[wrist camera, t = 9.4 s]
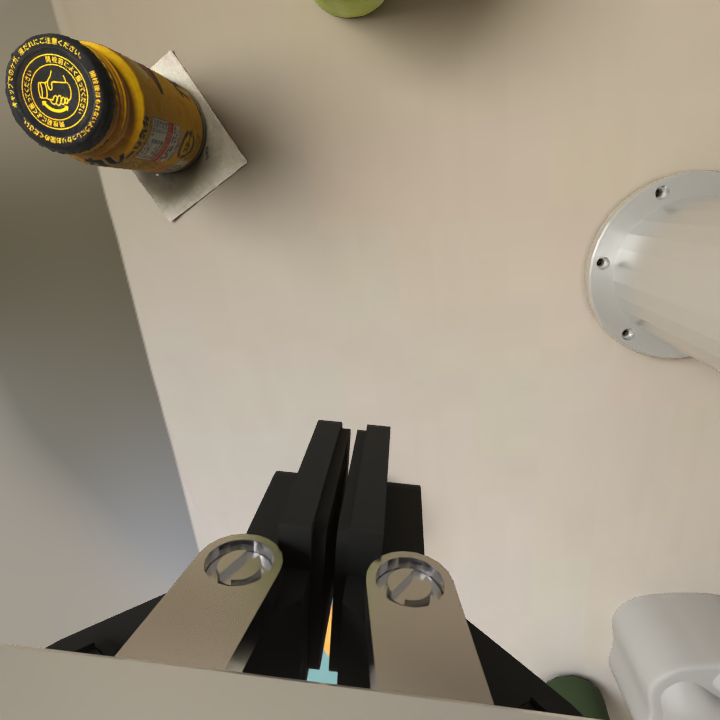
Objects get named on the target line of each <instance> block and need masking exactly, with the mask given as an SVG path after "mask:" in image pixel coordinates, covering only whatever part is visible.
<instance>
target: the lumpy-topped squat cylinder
mask: <svg viewBox="0 0 720 720" xmlns="http://www.w3.org/2000/svg"><path fill="white" fill-rule="evenodd" d="M612 628H613V645H612V649H611V652H610V656H609V666H610V668H611V671H612V673H613V675H614V677H615V680H616V682H617V684H618V686H619V689H620V691H621V693H622V696H623V698H624V700H625V702H626V705H627V707H628V709H629V712H630V714H631V716H632V719H633V720H720V595H716V594H707V593H664V594H651V595H644V596H639V597H636V598H633V599H631V600H629V601H627V602H625V603H624V604H622V605H621V606H620V607H619V608H618V609H617V610H616V611H615V612H614V615H613V618H612Z"/></svg>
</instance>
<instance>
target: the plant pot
mask: <svg viewBox="0 0 720 720" xmlns="http://www.w3.org/2000/svg"><path fill="white" fill-rule="evenodd" d="M314 1H315V2H316V3H317V4H318V5H319V6H320V7H321V8H322V9H324V10H325V11H326V12H328V13H330V14H332V15H334V16H337V17H346V18H351V17H359V16H364V15H366V14H368V13H370V12H372V11H374V10H375V9H376V8H377V7H379V6H380V5H381V4H382V3H383V2H384V1H385V0H314Z"/></svg>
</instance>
